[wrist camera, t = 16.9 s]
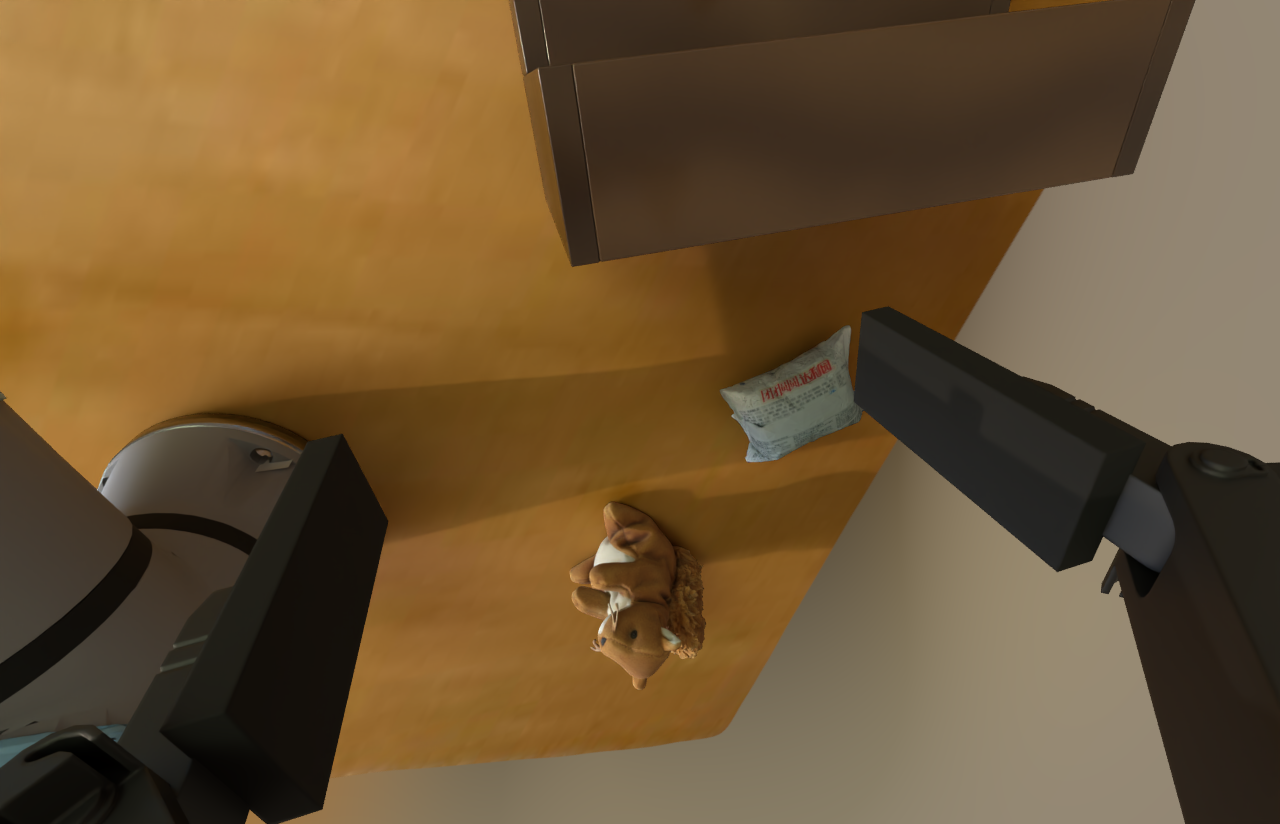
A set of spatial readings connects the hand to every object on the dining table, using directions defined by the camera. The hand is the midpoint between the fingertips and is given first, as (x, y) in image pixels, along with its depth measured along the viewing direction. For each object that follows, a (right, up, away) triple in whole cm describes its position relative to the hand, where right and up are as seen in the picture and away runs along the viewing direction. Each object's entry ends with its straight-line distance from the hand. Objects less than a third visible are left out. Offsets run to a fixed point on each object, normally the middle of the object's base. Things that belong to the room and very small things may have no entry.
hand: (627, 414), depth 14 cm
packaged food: (+13, +3, +34) cm, 36 cm away
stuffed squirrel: (0, -14, +40) cm, 43 cm away
